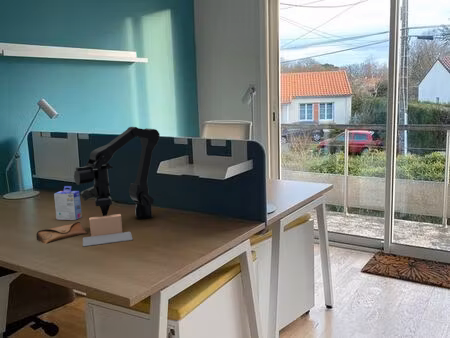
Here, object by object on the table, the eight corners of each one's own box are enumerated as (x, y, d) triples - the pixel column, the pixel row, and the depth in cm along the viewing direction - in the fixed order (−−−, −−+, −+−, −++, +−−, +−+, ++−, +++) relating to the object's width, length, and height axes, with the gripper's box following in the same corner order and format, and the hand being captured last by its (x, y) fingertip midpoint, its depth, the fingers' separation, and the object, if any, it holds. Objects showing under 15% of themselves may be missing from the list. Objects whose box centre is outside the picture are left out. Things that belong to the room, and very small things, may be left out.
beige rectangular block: (121, 230, 180) (120, 213, 178) (122, 232, 177) (121, 215, 176) (91, 234, 176) (89, 217, 175) (91, 236, 173) (89, 219, 172)
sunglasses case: (44, 244, 166) (39, 227, 168) (39, 249, 171) (34, 233, 173) (89, 232, 178) (84, 217, 179) (84, 238, 183) (79, 222, 184)
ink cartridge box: (82, 216, 201) (79, 185, 199) (76, 220, 196) (73, 188, 193) (62, 216, 203) (59, 185, 201) (56, 220, 198) (52, 188, 195)
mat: (130, 232, 177) (130, 231, 177) (132, 240, 167) (132, 239, 167) (83, 238, 172) (82, 237, 172) (82, 246, 162) (82, 246, 162)
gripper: (81, 178, 188) (84, 213, 191) (80, 187, 171) (84, 226, 174) (108, 175, 191) (111, 210, 194) (110, 184, 174) (113, 222, 177)
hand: (104, 217), depth 185 cm, fingers closed
